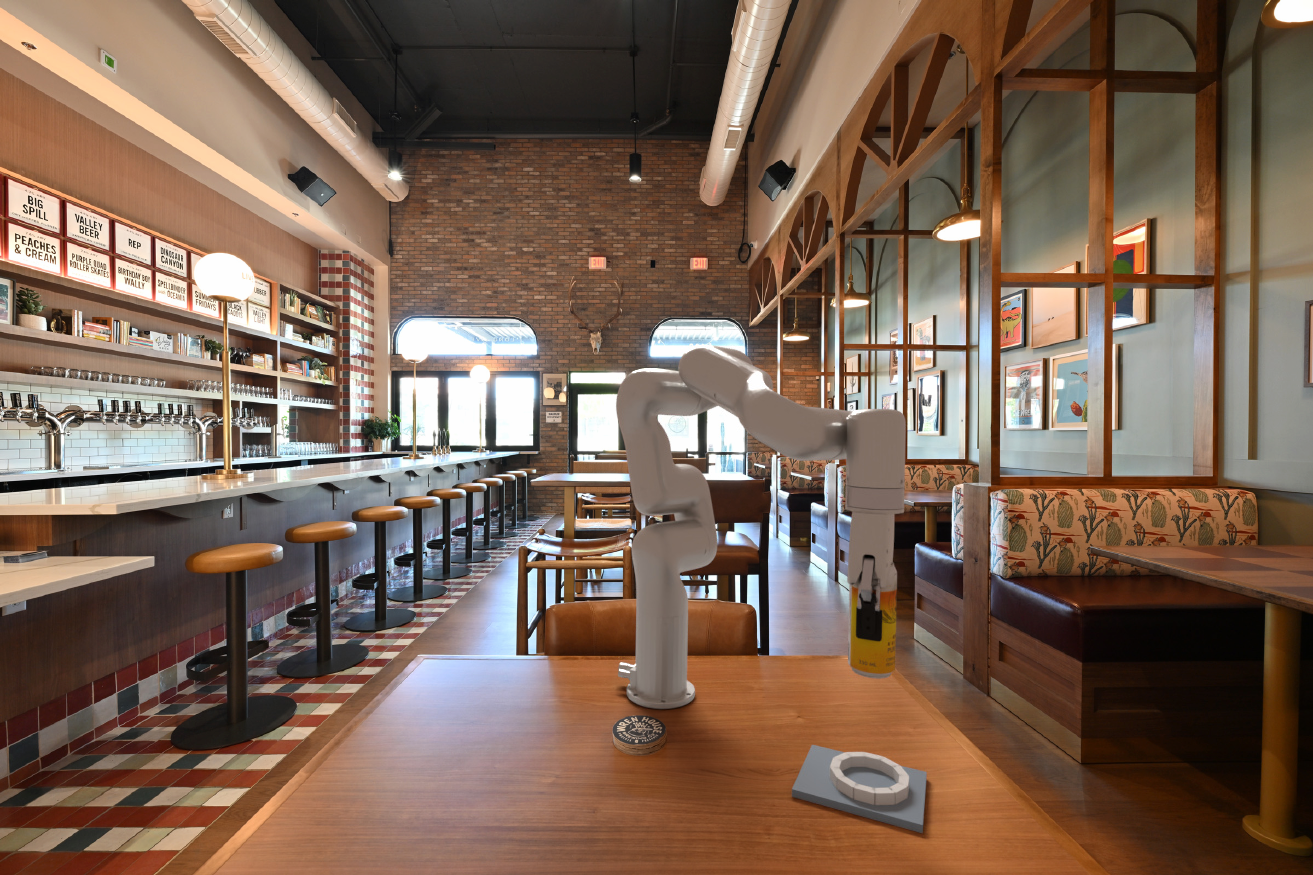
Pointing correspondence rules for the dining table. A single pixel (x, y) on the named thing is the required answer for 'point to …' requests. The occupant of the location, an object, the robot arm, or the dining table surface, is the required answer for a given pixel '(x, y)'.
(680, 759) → the dining table surface
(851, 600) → the beer can
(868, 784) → the base board
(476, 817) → the dining table surface
